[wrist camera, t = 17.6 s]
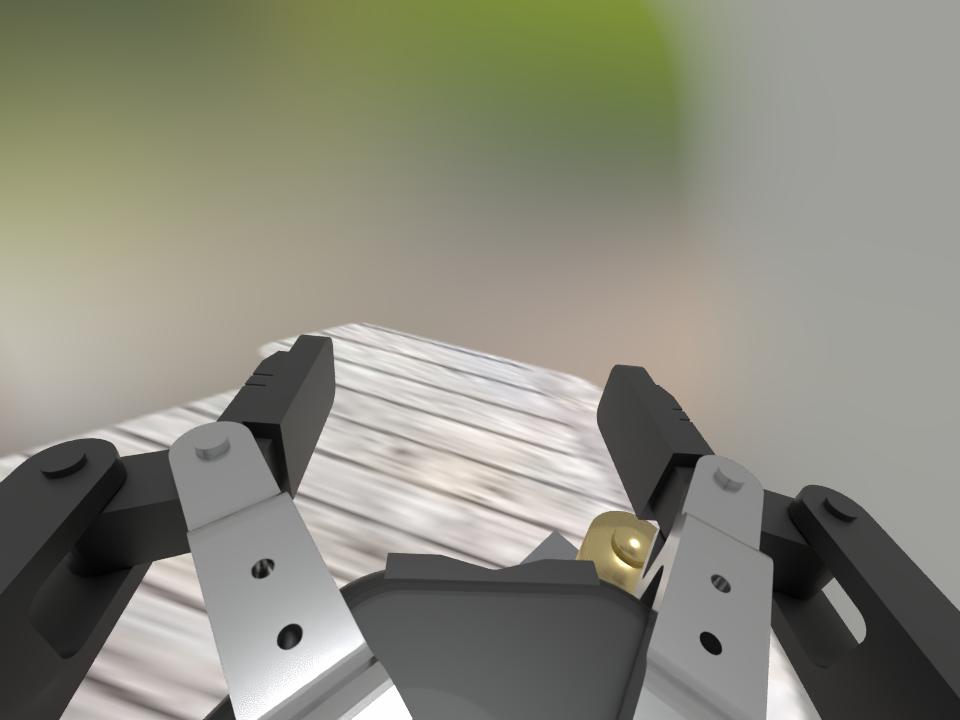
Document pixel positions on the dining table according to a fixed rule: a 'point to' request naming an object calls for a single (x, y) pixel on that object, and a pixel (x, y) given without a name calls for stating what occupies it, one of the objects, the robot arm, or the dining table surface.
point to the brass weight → (618, 547)
